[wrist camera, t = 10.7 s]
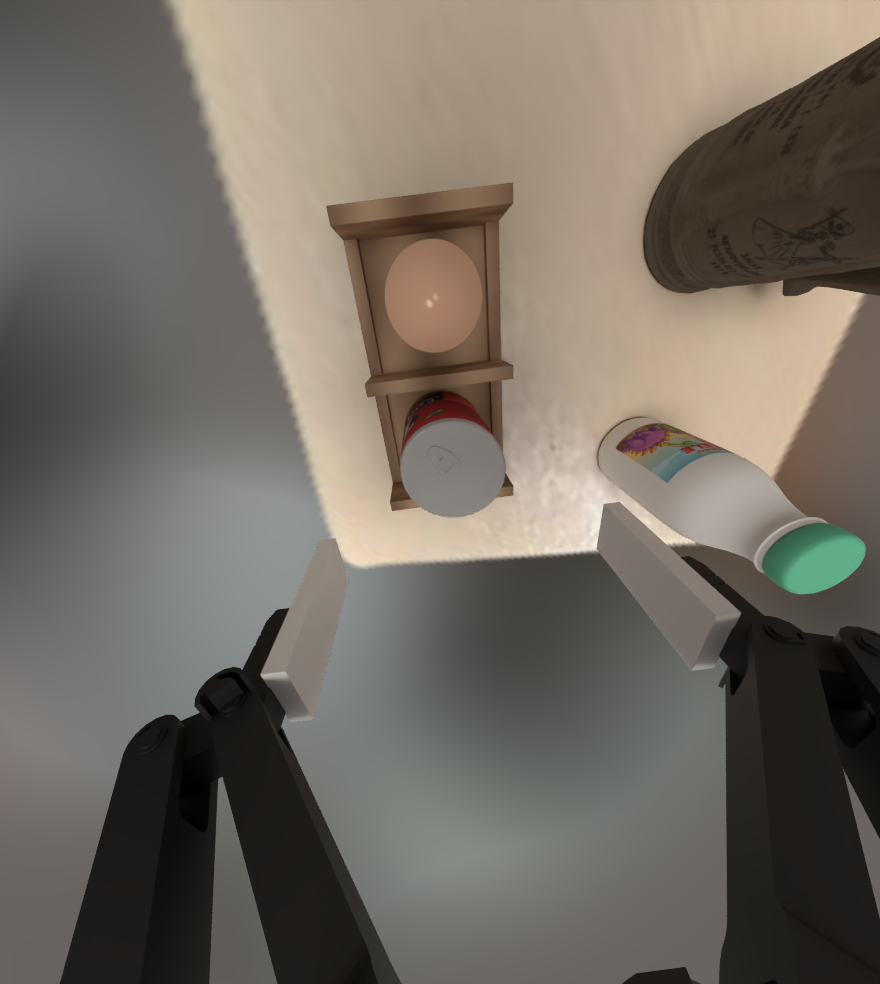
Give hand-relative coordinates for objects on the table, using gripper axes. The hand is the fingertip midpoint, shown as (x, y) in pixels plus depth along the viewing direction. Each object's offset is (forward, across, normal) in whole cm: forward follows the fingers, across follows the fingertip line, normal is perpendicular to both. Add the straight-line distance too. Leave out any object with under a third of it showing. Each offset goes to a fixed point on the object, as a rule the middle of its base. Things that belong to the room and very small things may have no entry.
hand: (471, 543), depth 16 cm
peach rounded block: (+19, 0, +11) cm, 22 cm away
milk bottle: (+20, +21, -6) cm, 30 cm away
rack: (+20, 0, +5) cm, 21 cm away
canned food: (+20, 0, 0) cm, 20 cm away
